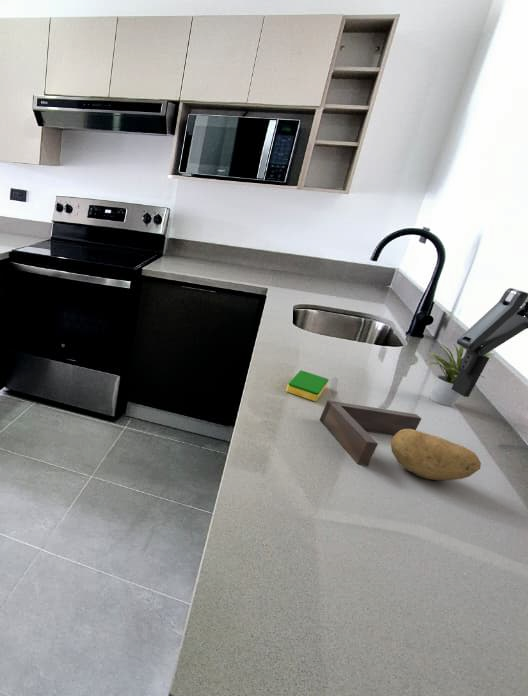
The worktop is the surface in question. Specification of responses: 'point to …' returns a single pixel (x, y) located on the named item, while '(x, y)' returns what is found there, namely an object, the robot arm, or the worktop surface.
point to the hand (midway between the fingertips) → (501, 398)
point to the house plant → (447, 378)
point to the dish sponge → (307, 385)
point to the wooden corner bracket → (363, 426)
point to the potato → (433, 456)
